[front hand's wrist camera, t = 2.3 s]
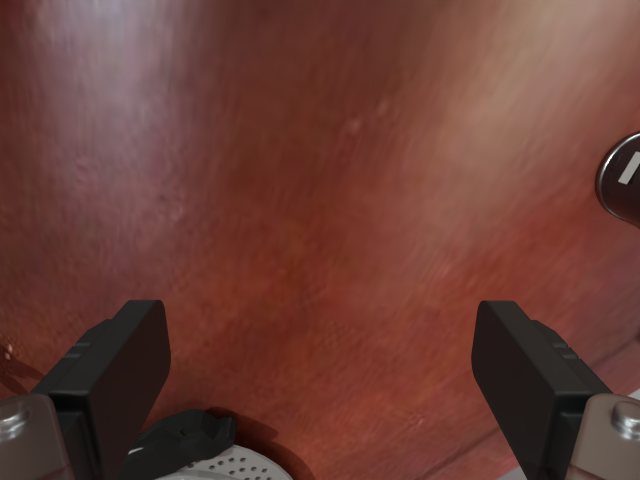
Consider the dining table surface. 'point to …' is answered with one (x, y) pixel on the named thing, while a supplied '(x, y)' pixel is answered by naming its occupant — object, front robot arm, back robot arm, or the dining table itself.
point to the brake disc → (195, 452)
